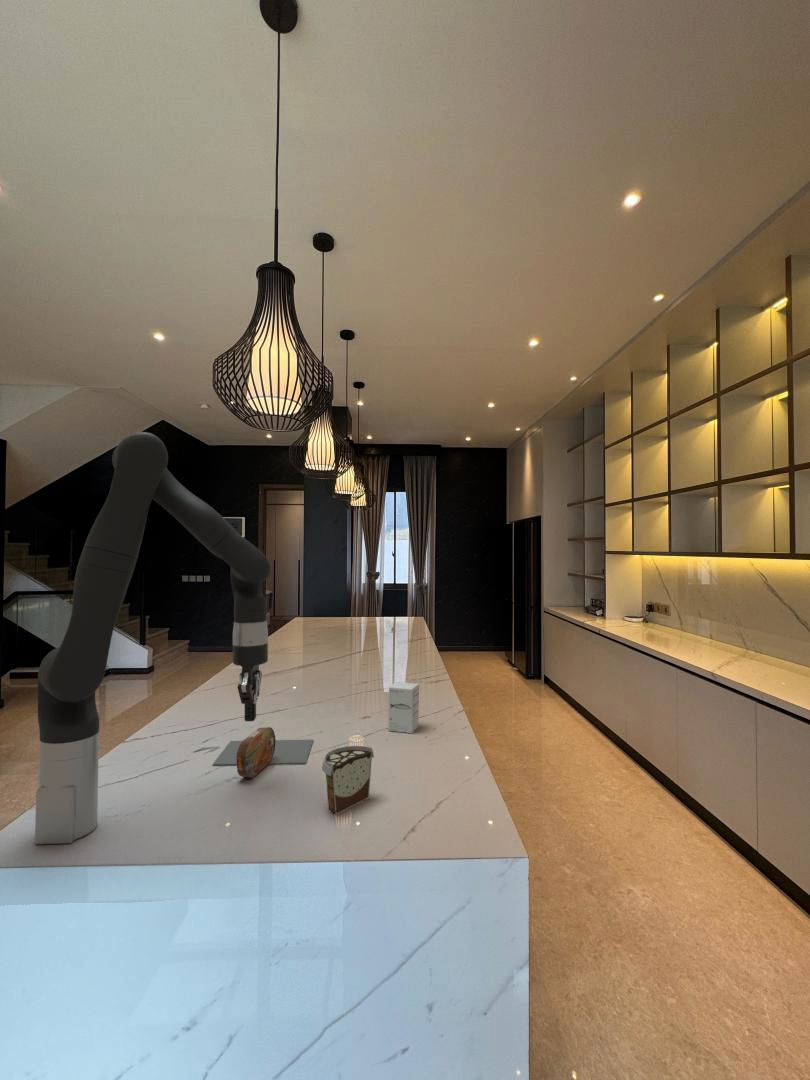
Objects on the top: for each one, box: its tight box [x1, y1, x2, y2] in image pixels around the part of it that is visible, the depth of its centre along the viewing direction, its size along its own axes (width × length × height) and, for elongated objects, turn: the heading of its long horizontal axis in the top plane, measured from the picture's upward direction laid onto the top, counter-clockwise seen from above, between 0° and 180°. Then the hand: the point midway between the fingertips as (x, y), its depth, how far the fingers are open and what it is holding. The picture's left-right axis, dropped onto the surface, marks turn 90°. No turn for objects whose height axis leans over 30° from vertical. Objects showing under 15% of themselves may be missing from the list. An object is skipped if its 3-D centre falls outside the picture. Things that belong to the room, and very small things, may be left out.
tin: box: [236, 726, 276, 779], centre depth 124 cm, size 15×3×8 cm, turn 168°
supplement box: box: [387, 681, 420, 734], centre depth 154 cm, size 7×7×13 cm
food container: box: [321, 745, 375, 816], centre depth 108 cm, size 12×6×10 cm, turn 141°
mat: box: [211, 739, 314, 767], centre depth 135 cm, size 16×22×1 cm
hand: (250, 720), depth 117 cm, fingers closed
